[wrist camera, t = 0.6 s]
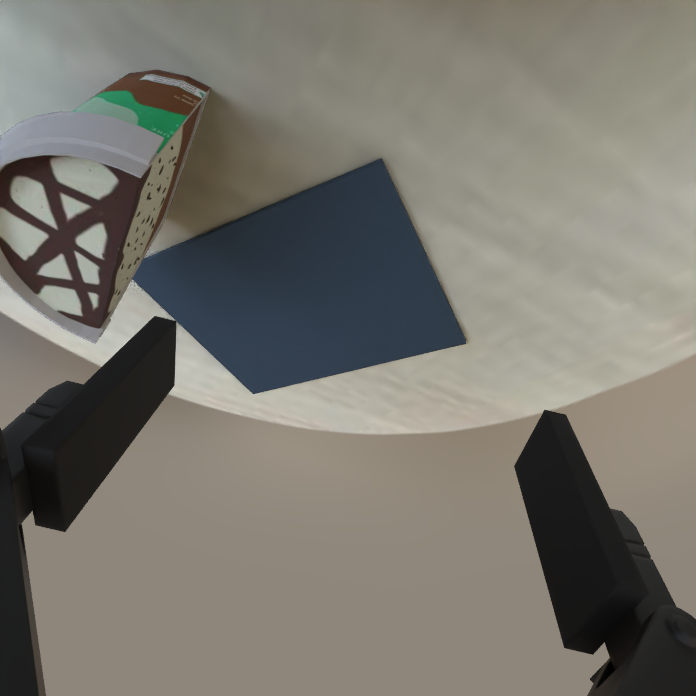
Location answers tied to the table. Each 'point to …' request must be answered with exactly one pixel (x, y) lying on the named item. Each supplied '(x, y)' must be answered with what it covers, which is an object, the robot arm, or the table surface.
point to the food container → (93, 194)
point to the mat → (308, 285)
